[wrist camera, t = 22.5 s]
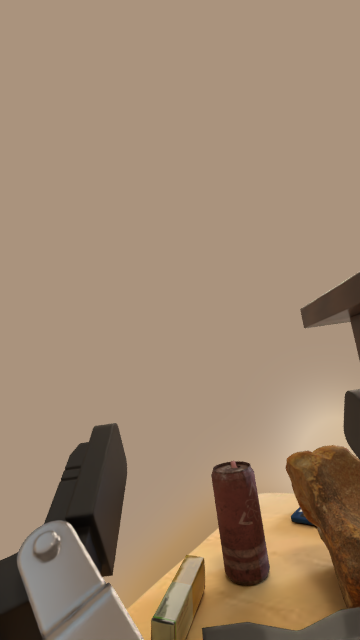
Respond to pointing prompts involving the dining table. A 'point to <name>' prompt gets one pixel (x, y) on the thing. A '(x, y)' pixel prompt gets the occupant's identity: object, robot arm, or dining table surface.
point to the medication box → (180, 601)
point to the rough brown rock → (332, 508)
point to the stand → (336, 307)
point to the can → (240, 523)
